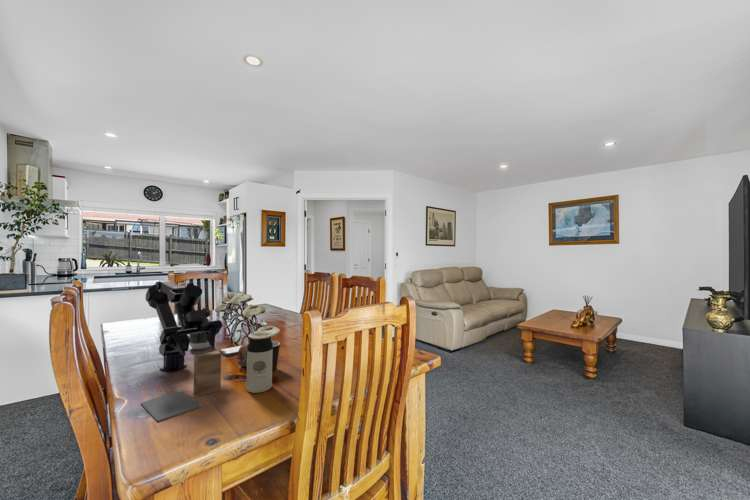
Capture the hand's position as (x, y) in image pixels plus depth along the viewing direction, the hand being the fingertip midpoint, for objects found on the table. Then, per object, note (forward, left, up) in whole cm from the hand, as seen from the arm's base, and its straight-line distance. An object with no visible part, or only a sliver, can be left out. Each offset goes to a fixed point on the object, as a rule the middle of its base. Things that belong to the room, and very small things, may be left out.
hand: (199, 351), depth 106 cm
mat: (+3, -13, -11) cm, 18 cm away
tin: (+3, +24, -12) cm, 27 cm away
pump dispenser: (-31, +34, -12) cm, 48 cm away
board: (+6, -3, -11) cm, 13 cm away
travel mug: (+21, +4, -12) cm, 24 cm away
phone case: (-11, +36, -12) cm, 40 cm away
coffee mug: (+13, +19, -12) cm, 26 cm away
